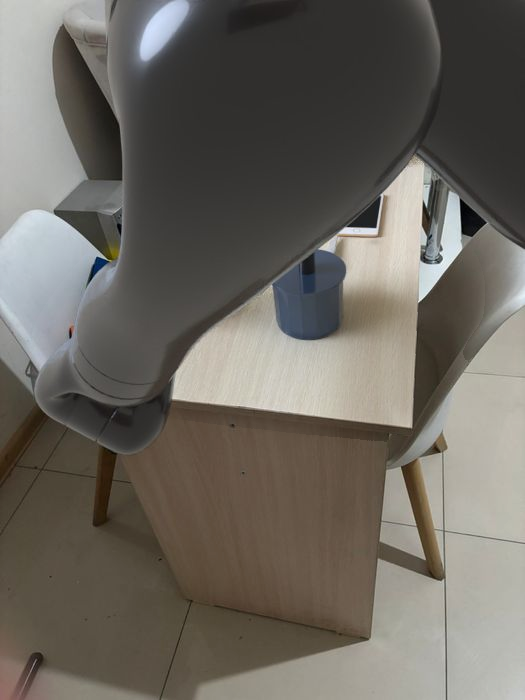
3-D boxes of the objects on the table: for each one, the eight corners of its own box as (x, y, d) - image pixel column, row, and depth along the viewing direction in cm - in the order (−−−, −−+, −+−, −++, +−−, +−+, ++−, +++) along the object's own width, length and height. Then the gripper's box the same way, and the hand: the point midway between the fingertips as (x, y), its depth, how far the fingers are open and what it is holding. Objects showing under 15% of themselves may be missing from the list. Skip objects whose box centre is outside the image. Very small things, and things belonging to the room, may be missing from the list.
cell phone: (335, 235, 96) (335, 232, 95) (345, 194, 107) (345, 192, 106) (377, 237, 94) (377, 234, 93) (383, 195, 105) (383, 192, 105)
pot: (340, 295, 83) (339, 251, 77) (345, 338, 75) (345, 292, 70) (277, 299, 84) (272, 255, 78) (276, 341, 76) (271, 296, 71)
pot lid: (342, 252, 78) (343, 225, 75) (349, 297, 70) (350, 269, 66) (269, 257, 79) (266, 231, 76) (267, 302, 71) (264, 275, 68)
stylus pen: (327, 286, 85) (326, 276, 84) (311, 284, 86) (311, 275, 85) (345, 238, 95) (345, 229, 94) (331, 237, 96) (330, 228, 95)
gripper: (246, 251, 48) (290, 173, 60) (112, 242, 52) (178, 170, 64) (254, 313, 53) (293, 230, 65) (132, 300, 57) (190, 224, 69)
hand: (236, 200), depth 64 cm, fingers closed on pill bottle, 5 cm apart
